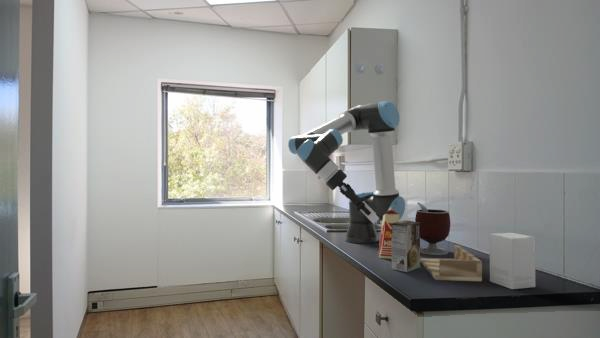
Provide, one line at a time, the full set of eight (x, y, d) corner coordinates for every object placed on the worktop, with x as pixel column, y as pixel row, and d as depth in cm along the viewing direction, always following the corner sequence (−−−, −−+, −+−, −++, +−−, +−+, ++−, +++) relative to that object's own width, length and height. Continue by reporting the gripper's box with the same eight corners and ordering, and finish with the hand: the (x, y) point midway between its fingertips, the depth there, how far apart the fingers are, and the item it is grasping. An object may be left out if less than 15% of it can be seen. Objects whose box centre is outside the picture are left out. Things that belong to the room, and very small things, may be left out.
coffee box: (404, 264, 139) (404, 220, 139) (420, 267, 135) (420, 221, 135) (390, 269, 133) (390, 222, 133) (407, 272, 128) (407, 224, 128)
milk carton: (403, 259, 147) (403, 207, 147) (378, 258, 149) (379, 206, 149) (401, 254, 156) (402, 205, 156) (378, 253, 158) (379, 204, 157)
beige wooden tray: (420, 261, 144) (420, 244, 144) (458, 262, 143) (458, 245, 143) (435, 279, 120) (435, 260, 120) (482, 281, 119) (482, 261, 119)
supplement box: (536, 287, 113) (537, 236, 113) (512, 290, 110) (512, 238, 110) (511, 278, 121) (511, 231, 121) (488, 281, 119) (488, 233, 119)
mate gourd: (457, 253, 157) (457, 204, 157) (432, 256, 151) (432, 206, 151) (429, 246, 171) (429, 201, 171) (405, 249, 165) (405, 202, 165)
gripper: (326, 181, 149) (365, 220, 148) (323, 184, 125) (369, 231, 123) (340, 168, 149) (379, 207, 147) (339, 168, 124) (386, 215, 122)
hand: (374, 218), depth 135 cm, fingers open, 13 cm apart
